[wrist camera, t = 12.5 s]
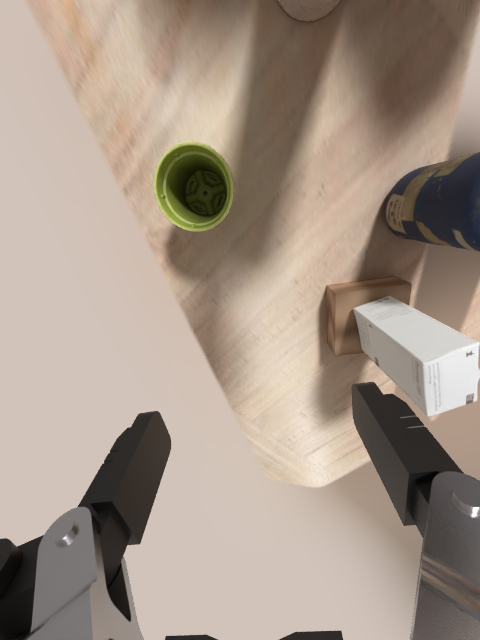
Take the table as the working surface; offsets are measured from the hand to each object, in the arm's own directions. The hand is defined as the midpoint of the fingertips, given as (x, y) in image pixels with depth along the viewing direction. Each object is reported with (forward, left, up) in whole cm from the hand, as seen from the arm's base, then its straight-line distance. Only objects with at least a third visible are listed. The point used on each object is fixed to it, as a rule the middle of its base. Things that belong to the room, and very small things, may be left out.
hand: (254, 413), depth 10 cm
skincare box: (+12, +18, -29) cm, 36 cm away
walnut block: (+12, +17, -34) cm, 40 cm away
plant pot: (-11, -5, -34) cm, 36 cm away
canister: (-4, +25, -34) cm, 42 cm away
